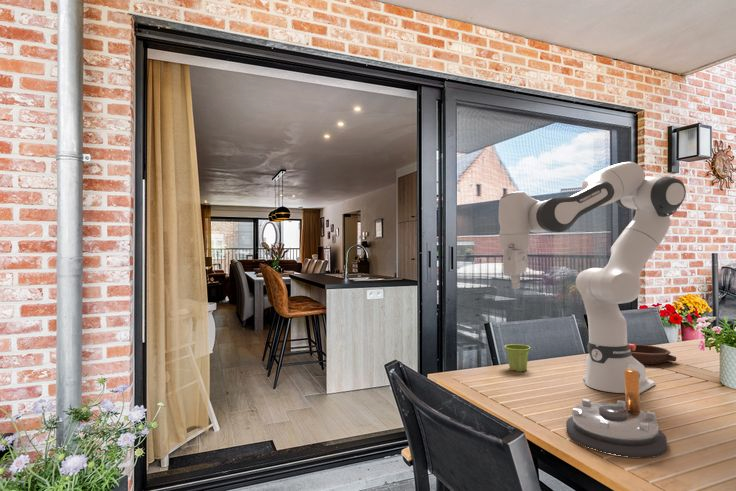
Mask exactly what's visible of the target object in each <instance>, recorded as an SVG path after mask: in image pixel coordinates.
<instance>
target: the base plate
mask: <svg viewBox="0 0 736 491" xmlns="http://www.w3.org/2000/svg"><path fill="white" fill-rule="evenodd" d="M565 424H566V428H565V429H566V433H568V434H567V435H568V437H569V436H570V437H571V438H572V439H573V440H572V439H571V440H572V441H574V440H575V441H576V442H575V441H574V442H575V443H577V442H578V443H580V444H582V445H584V446H586V447H589V448H593V449H596V450H598V451H602V452H606V453H611V454H616V455H621V456H628V457H651V458H654V457H653V456H656V457H659V456H662V455H663V454H665V453H666V451H667V450H668V449H667V448H668V439H667V436H666V435H665V434H664V432H663V431H662V430H660V429H659V428H658V432H659V438H658V440H657V441H655V442H653V443H651V444H646V445H621V444H614V443H609V442H605V441H601V440H598V439H595V438H592V437H589V436H587V435H585V434H583V433H581V432H580V431H578V430H577V429H576V428H575V427H574V425H573V415H572V416H570V417H568V418H567V419H566V423H565ZM570 437H569V438H570ZM578 443H577V444H578ZM580 444H579V445H580ZM582 445H581V446H582ZM584 446H583V447H584ZM586 447H585V448H586ZM589 448H588V449H589ZM658 455H659V456H658Z"/></svg>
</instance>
